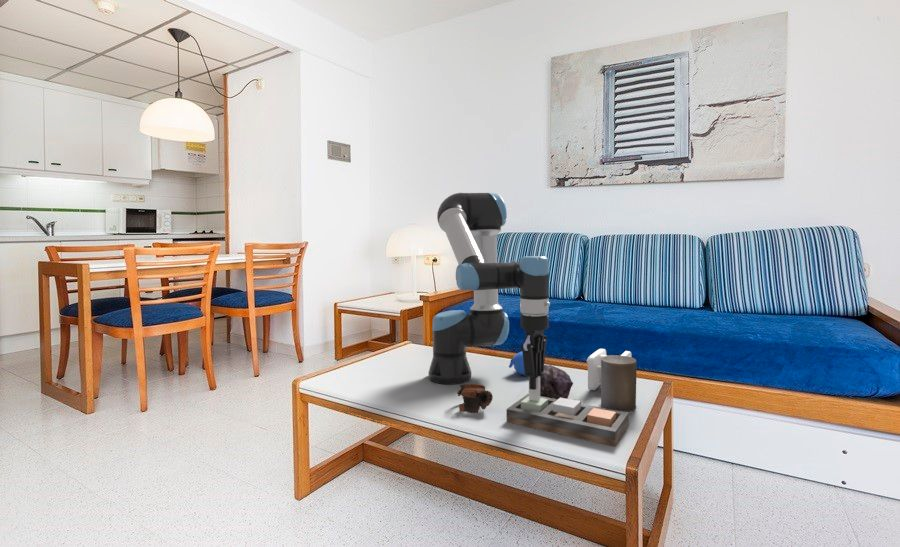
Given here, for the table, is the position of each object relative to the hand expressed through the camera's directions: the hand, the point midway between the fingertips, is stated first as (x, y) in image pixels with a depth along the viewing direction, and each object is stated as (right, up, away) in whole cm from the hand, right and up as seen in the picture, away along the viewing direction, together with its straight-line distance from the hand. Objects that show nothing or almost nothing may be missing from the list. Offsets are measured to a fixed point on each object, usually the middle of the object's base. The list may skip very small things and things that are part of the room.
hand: (534, 399), depth 126 cm
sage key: (0, -2, 0) cm, 2 cm away
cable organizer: (+28, -3, +23) cm, 37 cm away
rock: (+9, -4, +17) cm, 19 cm away
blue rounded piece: (+4, -2, +41) cm, 41 cm away
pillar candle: (+26, -4, +8) cm, 27 cm away
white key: (+8, -1, -5) cm, 9 cm away
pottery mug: (-16, -5, +7) cm, 18 cm away
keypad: (+8, -5, -5) cm, 10 cm away
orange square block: (+15, -3, -10) cm, 18 cm away
